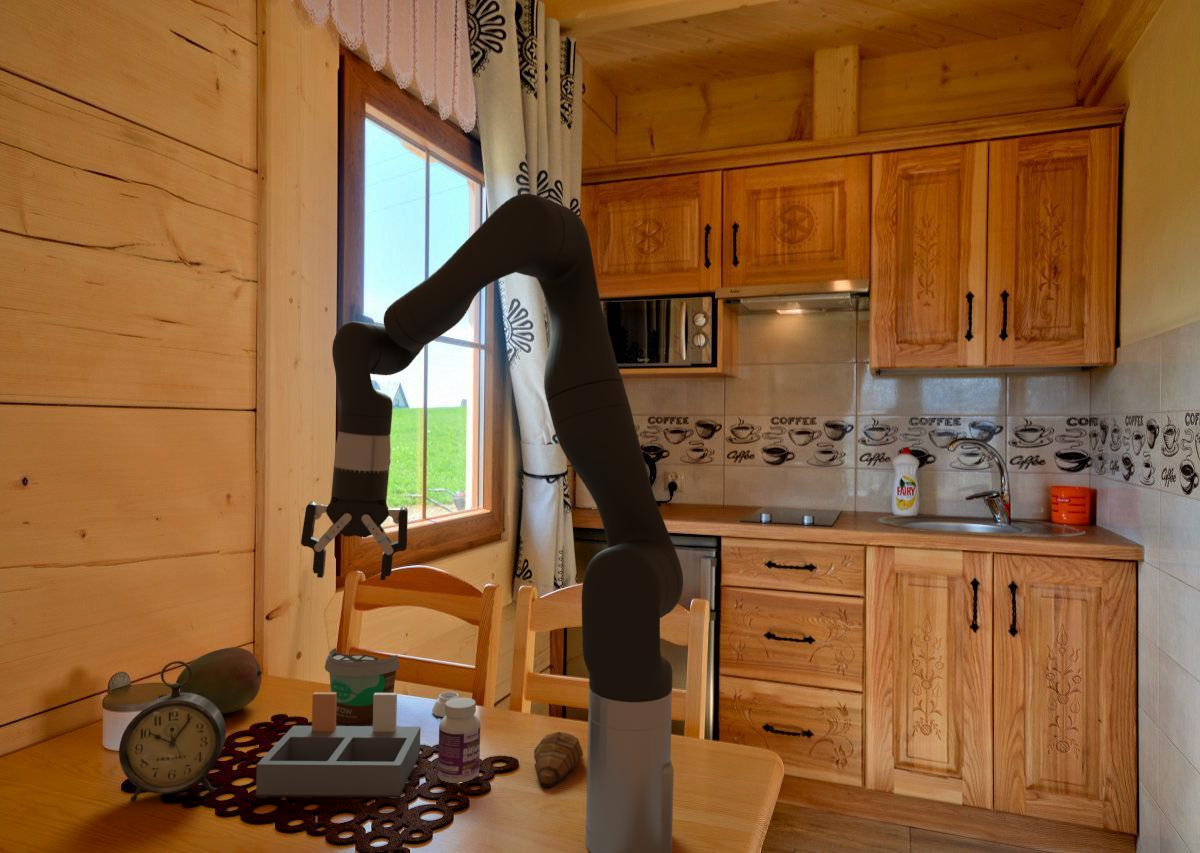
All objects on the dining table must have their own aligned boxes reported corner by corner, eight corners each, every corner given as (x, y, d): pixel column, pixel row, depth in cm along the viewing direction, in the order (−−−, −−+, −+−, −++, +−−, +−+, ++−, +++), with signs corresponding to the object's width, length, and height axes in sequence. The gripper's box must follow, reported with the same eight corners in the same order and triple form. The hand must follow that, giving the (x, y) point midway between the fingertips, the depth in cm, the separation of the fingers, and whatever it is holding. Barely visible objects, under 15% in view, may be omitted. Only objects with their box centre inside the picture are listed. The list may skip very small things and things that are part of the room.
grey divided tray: (419, 755, 104) (421, 690, 104) (399, 797, 92) (401, 724, 92) (292, 754, 103) (294, 689, 103) (255, 797, 91) (257, 723, 91)
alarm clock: (116, 808, 88) (119, 670, 88) (131, 787, 93) (134, 656, 93) (218, 798, 91) (221, 664, 91) (227, 778, 96) (230, 651, 96)
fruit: (253, 723, 114) (255, 658, 114) (161, 730, 111) (163, 663, 111) (266, 697, 125) (268, 637, 125) (183, 702, 122) (184, 641, 122)
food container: (306, 723, 114) (307, 657, 114) (331, 709, 120) (332, 646, 120) (376, 734, 111) (377, 666, 111) (399, 719, 117) (400, 655, 117)
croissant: (572, 795, 94) (573, 755, 94) (520, 789, 96) (521, 750, 96) (591, 750, 108) (592, 715, 108) (545, 745, 109) (546, 711, 109)
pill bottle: (470, 787, 95) (472, 711, 95) (431, 783, 96) (432, 707, 96) (485, 769, 100) (486, 697, 100) (447, 764, 101) (449, 693, 101)
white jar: (436, 707, 123) (428, 719, 118) (437, 689, 123) (429, 700, 118) (467, 708, 122) (460, 720, 117) (467, 690, 122) (460, 701, 117)
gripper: (304, 464, 101) (294, 583, 101) (413, 472, 104) (403, 586, 105) (312, 458, 108) (303, 569, 109) (413, 465, 111) (404, 573, 112)
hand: (352, 577), depth 107 cm, fingers open, 8 cm apart
